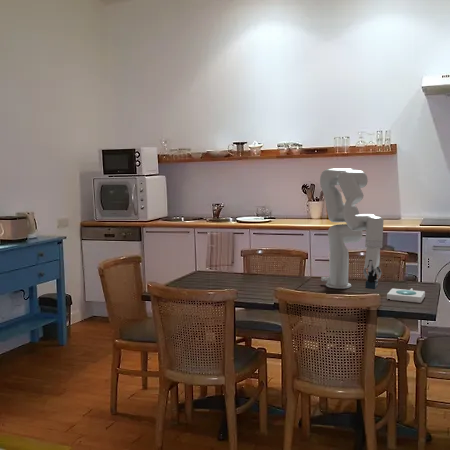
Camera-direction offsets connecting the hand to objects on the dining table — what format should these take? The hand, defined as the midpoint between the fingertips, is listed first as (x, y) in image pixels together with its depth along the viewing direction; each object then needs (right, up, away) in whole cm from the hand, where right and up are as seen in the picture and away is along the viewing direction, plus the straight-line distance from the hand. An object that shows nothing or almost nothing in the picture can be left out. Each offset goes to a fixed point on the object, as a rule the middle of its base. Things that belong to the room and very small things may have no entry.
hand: (372, 282), depth 265 cm
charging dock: (+19, -7, +9) cm, 22 cm away
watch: (0, -2, 0) cm, 2 cm away
